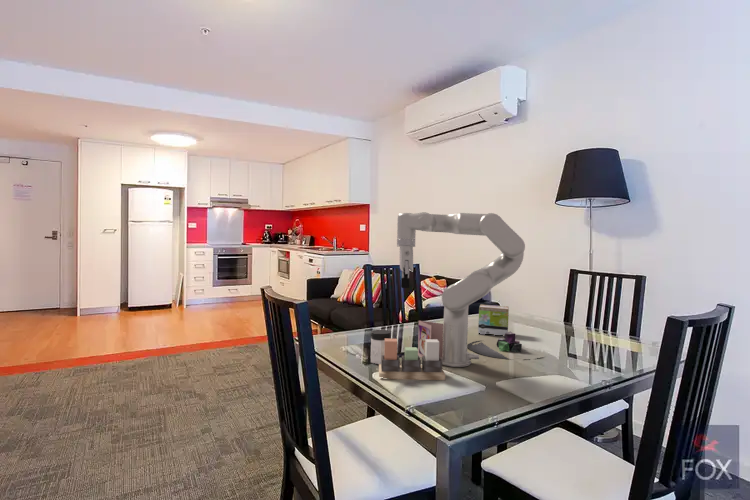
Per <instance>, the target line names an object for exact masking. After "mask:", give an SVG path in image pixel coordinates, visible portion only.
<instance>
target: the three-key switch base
mask: <svg viewBox="0 0 750 500" xmlns="http://www.w3.org/2000/svg"><path fill="white" fill-rule="evenodd" d="M400 359H401V360H400ZM400 363H401V364H400ZM379 377H383V378H389V379H388V380H404V381H405V380H406V381H407V380H410V381H411V380H414V381H417V380H418V381H446V373H445V371H444V370H443V364H442V360H441V358H440V357H439V361H426V359H425V356H422V357H420V356H418V360H405V355H401V358H400V355H397V360H384V355H381V364H378V378H379Z"/></svg>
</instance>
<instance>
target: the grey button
mask: <svg viewBox="0 0 750 500" xmlns="http://www.w3.org/2000/svg"><path fill="white" fill-rule="evenodd" d="M425 359H426V361H439V341H438V340H437V339H425Z"/></svg>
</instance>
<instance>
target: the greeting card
mask: <svg viewBox="0 0 750 500" xmlns="http://www.w3.org/2000/svg"><path fill="white" fill-rule="evenodd" d="M417 325H418V332H417V333H418V334H417V335H418V341H417V349H418V356H419V357H420V358H422V356H425V339H437V340H438V341H439V357H443V325H444V323H439V322H433V321H426V320H418V324H417Z"/></svg>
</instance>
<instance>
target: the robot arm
mask: <svg viewBox="0 0 750 500" xmlns="http://www.w3.org/2000/svg"><path fill="white" fill-rule="evenodd" d="M396 225H397V227H396V228H397V231H396V233H397V234H396V235H397V236H396V238H397V239H396V247H399V270H401V278H400V281H401V282H400V287H401V288H402V289H409V288H410V271H411V272H413V271H414V248H415V247H416V235H417V234H416V232H417V231H420V232H427V233H428V232H430V233H431V232H432V233H445V234H446V233H447V234H448V233H450V234H454V235H464V236H465V235H467V236H469V235H470V236H482V237H483V236H485V237H487V239H488V240H489V241H490V242H491V243H493V245H494V246H495V247H497V249H498V250H499V251H500V252H501V254H500V255H499V256H498V257H497V258H496V259H494V260H492V261H491V262H489V263H488V264H486V265H484V266H483V267H481V268H478V269H477V270H474V271H473V272H471V273H470V274H469V275H466V276H465V277H464V278H462V279H460V280H459V281H457V282H455V283H453V284H450V285H449V286H447V287H446V288H445V289H444V290H443V292H442V295H441V304H442V305H443V307H444V308H443V357H440V358H441V360H442V366H445V367H454V368H463V367H468V366H470V365H472V363H471V362H472V361H471V360H480V354H479V353H476V354H475V352H474V353H469V351H468V348H467V345H468V331H469V330H468V329H469V328H468V326H469V325H468V324H469V306H470V305H473V303H475V302H477V301H478V300H480V299H482V298H484V297H486V296H487V295H488V294H489V293H490V292H491V290H492V289H493V288H494V287H496V286H497V285H499V284H501V283H502V282H504V281H505V280H507V279H508V278H510V277H512V276H513V275H514V274H515V273H516V272H517V271H518V270H519V269H520V267H521V265H522V263H523V261H524V256H525V250H526V244H525V241H524V239H523V238H522V237H521V236H520V235H519V234H518V233H517V232H516V231H515V230H514V229H513V228H511V226H509V224H507V222H506V221H505V220H503V218H502V217H501V216H500V215H498V213H497V214H496V213H494V212H493V213H492V212H489V213H470V212H469V213H468V212H457V213H456V212H455V213H454V214H453V213H451V214H438V213H437V214H436V213H435V214H434V213H428V212H415V213H412V212H401V213H400V212H399V213H398V214H397V224H396Z"/></svg>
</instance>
